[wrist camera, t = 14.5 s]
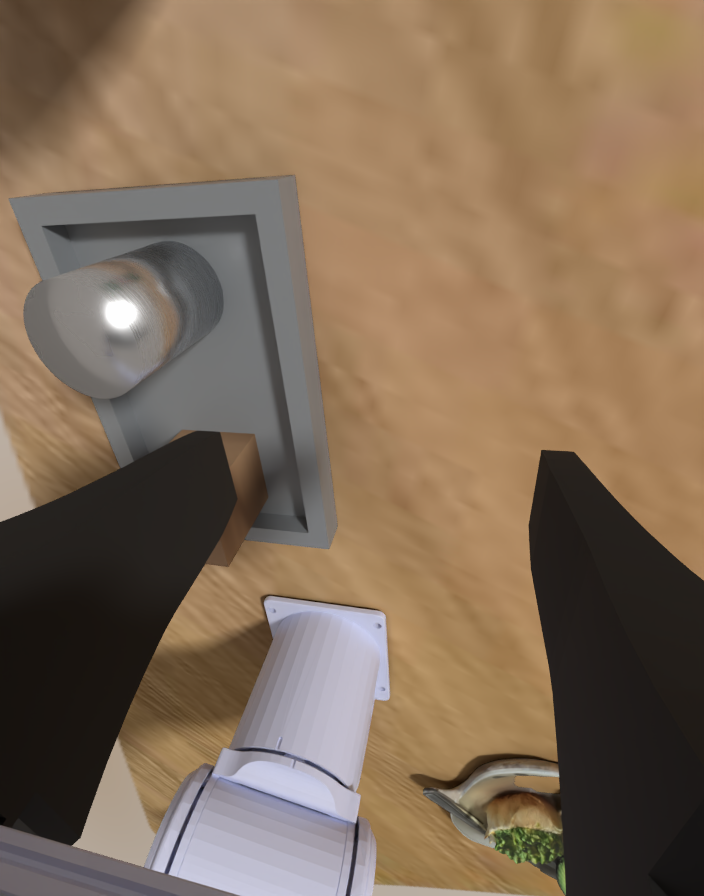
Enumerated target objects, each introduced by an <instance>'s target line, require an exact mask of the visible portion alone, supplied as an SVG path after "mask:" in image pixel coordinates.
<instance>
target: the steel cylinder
mask: <svg viewBox="0 0 704 896" xmlns="http://www.w3.org/2000/svg"><path fill="white" fill-rule="evenodd" d="M223 307H224V298H223V291H222V287H221V284H220V281H219V279H218V277H217V275H216V273H215V271H214V270H213V268H212V267H211V265H210V264H209V263H208V261H207V260H206V259H205V258H204V257H203V256H202V255H201V254H199V253H198V252H197V251H196V250H194V249H192V248H191V247H189V246H187V245H185V244H183V243H179V242H175V241H160V242H157V243H154V244H151V245H148V246H145V247H142V248H139V249H136V250H133V251H130V252H127V253H124V254H121V255H118V256H115V257H112V258H109V259H106V260H103V261H100V262H97V263H94V264H91V265H88V266H85V267H82V268H79V269H76V270H73V271H70V272H67V273H64V274H61V275H58V276H56V277H53V278H50V279H47V280H44V281H41V282H39V283H38V284H36V285H35V286H34V287H33V288H32V289H31V290H30V292H29V293H28V295H27V297H26V300H25V304H24V323H25V328H26V331H27V335H28V337H29V340H30V342H31V344H32V346H33V348H34V350H35V352H36V353H37V355H38V356H39V358H40V359H41V361H42V362H43V363H44V364H45V366H46V367H47V368H48V369H49V370H50V371H51V372H52V373H53V374H54V375H55V376H56V377H57V378H58V379H60V380H61V381H62V382H63V383H65V384H66V385H68V386H69V387H71V388H72V389H74V390H76V391H78V392H80V393H82V394H84V395H87V396H90V397H95V398H101V399H111V398H116V397H119V396H121V395H123V394H125V393H126V392H128V391H129V390H131V389H132V388H133V387H135V386H136V385H137V384H139V383H140V382H142V381H143V380H144V379H146V378H147V377H149V376H150V375H151V374H153V373H154V372H155V371H157V370H158V369H160V368H161V367H162V366H164V365H165V364H166V363H168V362H169V361H171V360H172V359H173V358H175V357H176V356H178V355H179V354H180V353H182V352H183V351H184V350H186V349H187V348H189V347H190V346H191V345H193V344H194V343H195V342H197V341H198V340H200V339H201V338H202V337H204V336H205V335H207V334H208V333H209V332H211V331H212V330H213V329H214V328H215V327H216V326H217V324H218V323H219V321H220V319H221V316H222V313H223Z"/></svg>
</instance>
